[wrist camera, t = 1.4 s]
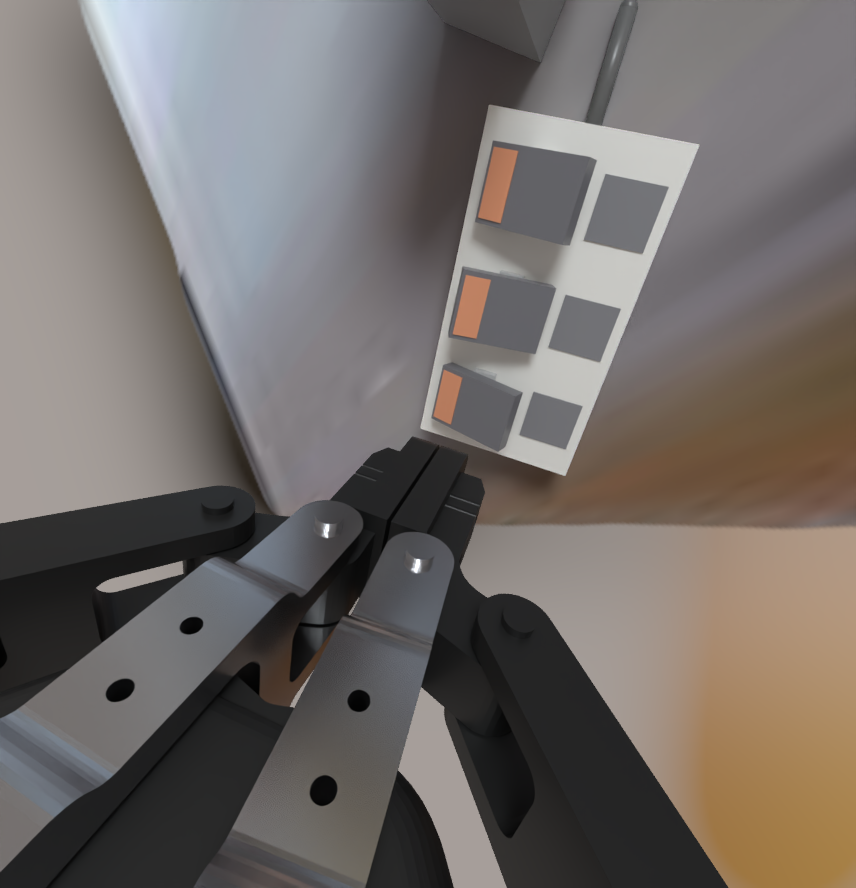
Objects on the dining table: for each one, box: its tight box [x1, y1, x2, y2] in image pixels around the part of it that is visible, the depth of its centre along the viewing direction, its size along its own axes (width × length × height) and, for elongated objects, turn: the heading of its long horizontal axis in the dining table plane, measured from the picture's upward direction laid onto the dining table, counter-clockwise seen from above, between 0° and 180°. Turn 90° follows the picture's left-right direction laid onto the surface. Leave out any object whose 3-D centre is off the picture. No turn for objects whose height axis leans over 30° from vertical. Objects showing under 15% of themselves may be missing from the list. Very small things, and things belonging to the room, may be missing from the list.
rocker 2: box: [448, 266, 556, 354], centre depth 31 cm, size 6×4×1 cm
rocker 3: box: [431, 362, 523, 452], centre depth 34 cm, size 6×4×1 cm
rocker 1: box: [475, 140, 597, 246], centre depth 28 cm, size 6×4×1 cm
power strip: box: [420, 0, 699, 476], centre depth 32 cm, size 12×28×5 cm, turn 168°
